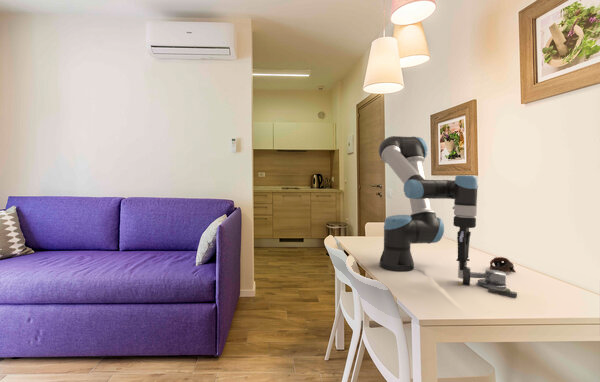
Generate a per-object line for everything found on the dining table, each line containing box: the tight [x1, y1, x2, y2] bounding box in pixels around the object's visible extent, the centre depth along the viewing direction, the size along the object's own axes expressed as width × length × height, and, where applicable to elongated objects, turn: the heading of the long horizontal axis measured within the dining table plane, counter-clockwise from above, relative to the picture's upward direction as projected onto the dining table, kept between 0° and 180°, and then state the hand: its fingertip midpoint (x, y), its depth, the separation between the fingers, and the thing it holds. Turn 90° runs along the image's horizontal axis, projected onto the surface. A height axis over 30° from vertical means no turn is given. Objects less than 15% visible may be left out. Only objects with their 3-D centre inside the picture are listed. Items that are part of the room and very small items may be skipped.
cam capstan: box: [462, 266, 507, 290], centre depth 118 cm, size 14×9×6 cm, turn 83°
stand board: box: [457, 282, 518, 299], centre depth 119 cm, size 20×19×4 cm
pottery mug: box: [489, 256, 516, 273], centre depth 138 cm, size 12×10×8 cm
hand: (462, 278), depth 122 cm, fingers closed
